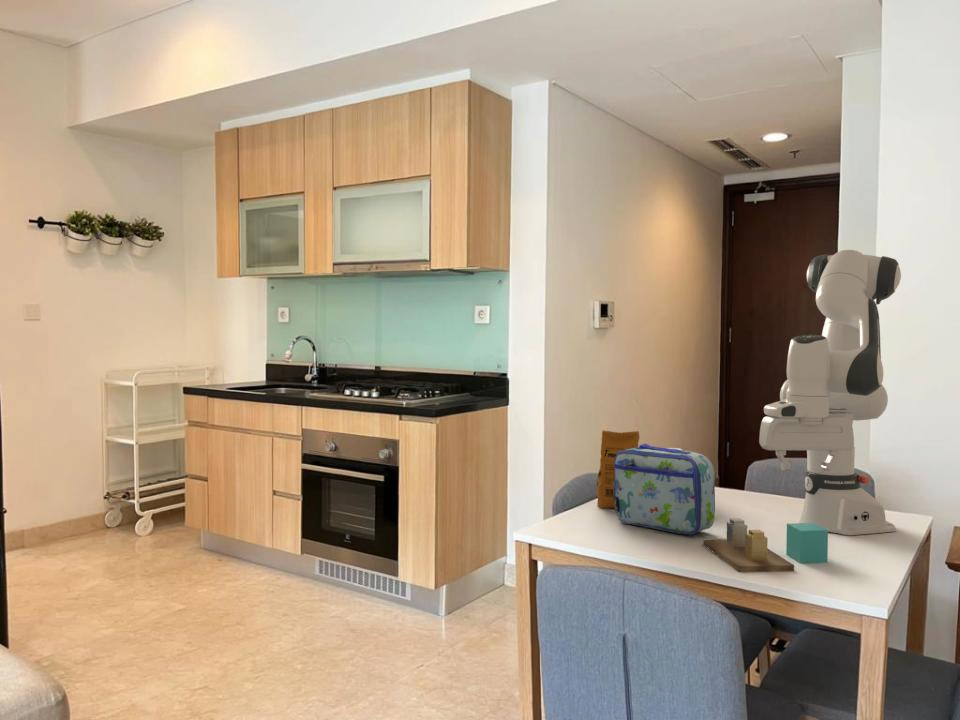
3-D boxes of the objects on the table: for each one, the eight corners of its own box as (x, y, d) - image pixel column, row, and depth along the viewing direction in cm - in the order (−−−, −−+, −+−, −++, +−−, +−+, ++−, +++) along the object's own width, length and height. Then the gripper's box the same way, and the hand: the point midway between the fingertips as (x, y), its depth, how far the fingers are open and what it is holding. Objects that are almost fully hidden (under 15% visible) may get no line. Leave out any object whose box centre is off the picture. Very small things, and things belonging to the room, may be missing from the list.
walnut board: (752, 543, 176) (752, 538, 176) (794, 570, 156) (794, 565, 156) (703, 544, 175) (703, 539, 175) (738, 572, 156) (738, 566, 155)
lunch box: (607, 521, 197) (608, 443, 196) (631, 515, 204) (631, 439, 203) (695, 542, 178) (696, 455, 177) (718, 533, 185) (719, 450, 184)
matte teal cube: (812, 553, 168) (813, 523, 168) (827, 562, 162) (828, 530, 162) (786, 554, 168) (786, 523, 167) (800, 563, 162) (800, 530, 161)
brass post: (760, 556, 163) (760, 528, 162) (767, 560, 159) (767, 533, 159) (745, 556, 162) (745, 529, 162) (751, 561, 159) (752, 533, 159)
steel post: (740, 543, 173) (741, 517, 172) (747, 547, 169) (747, 521, 169) (726, 543, 172) (726, 517, 172) (732, 547, 169) (732, 521, 169)
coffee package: (597, 501, 221) (598, 427, 220) (640, 503, 218) (640, 429, 217) (595, 508, 211) (595, 432, 210) (639, 511, 208) (640, 433, 207)
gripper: (844, 407, 168) (843, 467, 168) (756, 406, 166) (755, 467, 167) (860, 409, 161) (859, 472, 162) (769, 409, 160) (768, 472, 161)
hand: (805, 470), depth 164 cm, fingers open, 8 cm apart
